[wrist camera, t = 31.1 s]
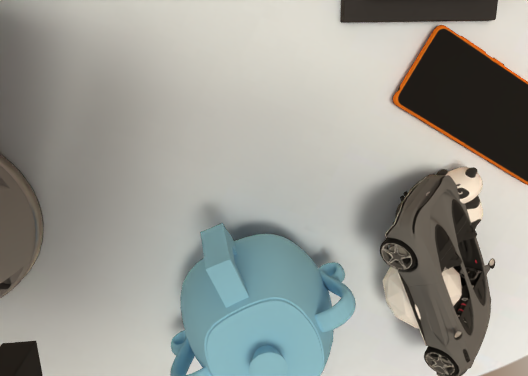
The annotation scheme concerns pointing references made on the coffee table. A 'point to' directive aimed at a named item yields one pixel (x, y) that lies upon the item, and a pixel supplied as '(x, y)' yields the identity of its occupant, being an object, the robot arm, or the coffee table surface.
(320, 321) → the teapot
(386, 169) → the coffee table surface
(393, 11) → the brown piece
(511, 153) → the smartphone
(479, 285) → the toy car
